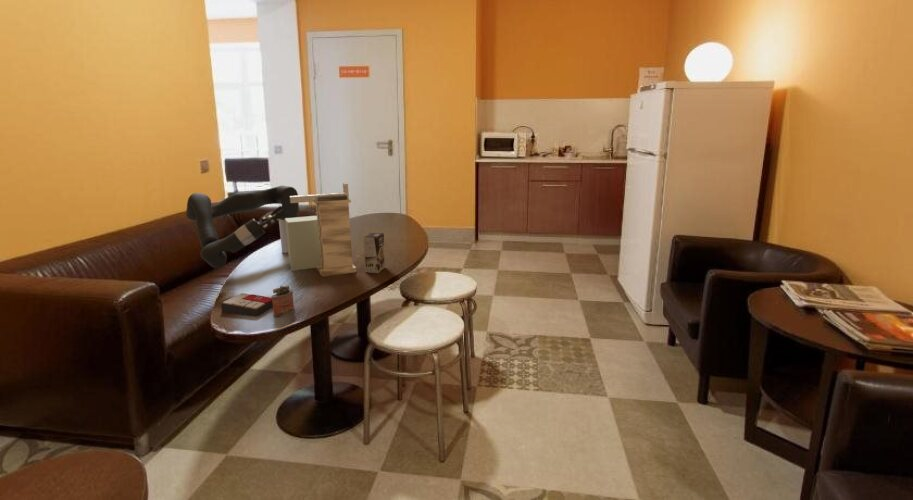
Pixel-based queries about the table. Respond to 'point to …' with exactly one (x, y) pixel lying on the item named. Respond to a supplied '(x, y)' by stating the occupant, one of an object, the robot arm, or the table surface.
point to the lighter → (282, 301)
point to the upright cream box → (303, 242)
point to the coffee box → (374, 252)
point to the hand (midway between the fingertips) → (283, 209)
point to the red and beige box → (247, 305)
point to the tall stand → (334, 236)
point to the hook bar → (318, 196)
